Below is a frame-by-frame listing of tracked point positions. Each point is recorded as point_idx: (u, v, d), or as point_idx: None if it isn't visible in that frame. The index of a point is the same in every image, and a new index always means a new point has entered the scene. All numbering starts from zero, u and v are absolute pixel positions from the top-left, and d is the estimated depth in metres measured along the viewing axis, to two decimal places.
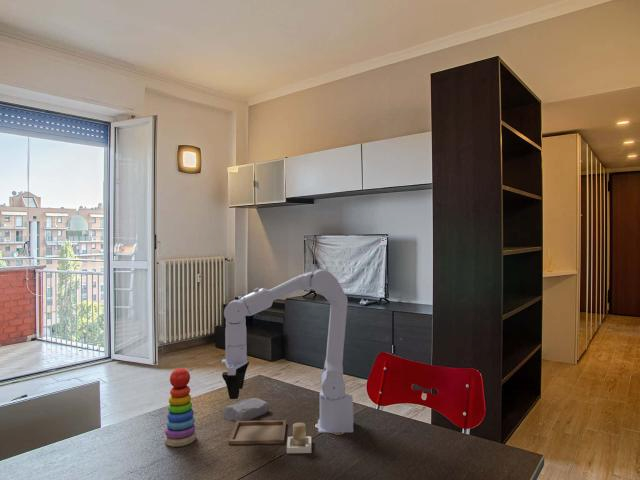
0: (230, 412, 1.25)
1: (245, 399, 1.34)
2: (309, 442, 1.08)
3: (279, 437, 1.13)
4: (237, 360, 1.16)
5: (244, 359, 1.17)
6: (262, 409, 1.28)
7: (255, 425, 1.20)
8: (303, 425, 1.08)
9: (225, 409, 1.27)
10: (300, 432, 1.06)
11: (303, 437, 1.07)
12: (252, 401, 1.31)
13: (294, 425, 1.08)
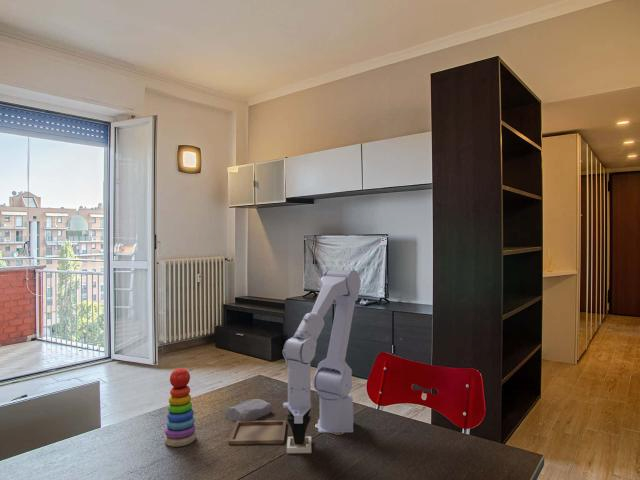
0: (233, 413, 1.25)
1: (247, 400, 1.34)
2: (309, 442, 1.08)
3: (279, 437, 1.13)
4: (301, 405, 1.05)
5: (309, 403, 1.07)
6: (264, 410, 1.28)
7: (255, 425, 1.20)
8: None
9: (228, 410, 1.26)
10: None
11: None
12: (255, 402, 1.30)
13: None
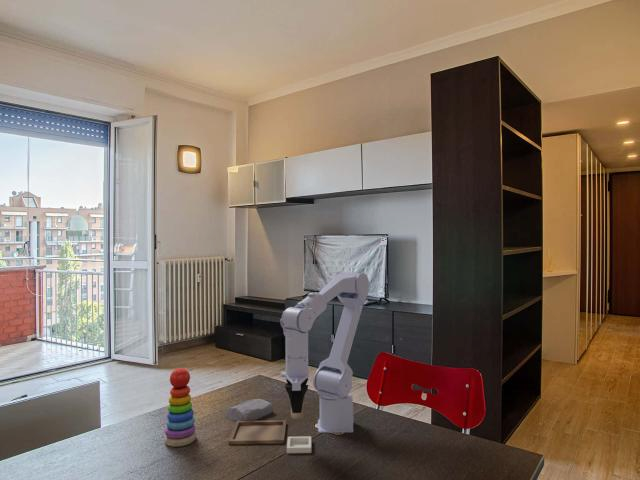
0: (234, 413, 1.25)
1: (249, 400, 1.34)
2: (309, 442, 1.08)
3: (279, 437, 1.13)
4: (299, 373, 1.06)
5: (306, 372, 1.07)
6: (266, 410, 1.28)
7: (255, 425, 1.20)
8: None
9: (229, 410, 1.26)
10: None
11: None
12: (256, 402, 1.30)
13: None
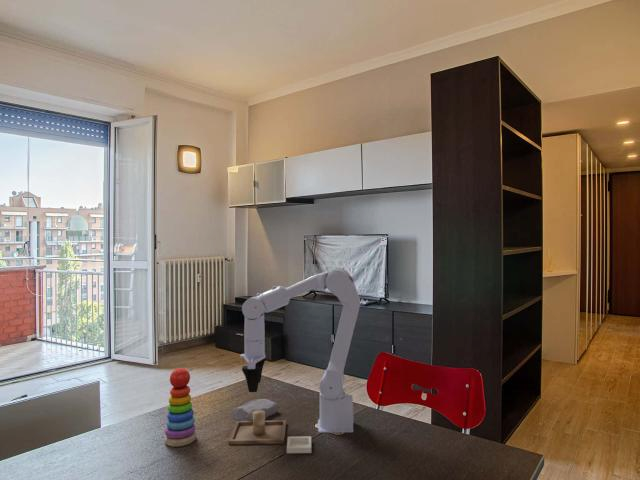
0: (240, 413, 1.25)
1: (253, 400, 1.34)
2: (309, 442, 1.08)
3: (279, 437, 1.13)
4: (255, 355, 1.20)
5: (262, 354, 1.21)
6: (271, 410, 1.28)
7: None
8: (262, 412, 1.16)
9: (234, 410, 1.26)
10: (259, 419, 1.14)
11: (262, 423, 1.15)
12: (261, 402, 1.31)
13: (254, 412, 1.16)
